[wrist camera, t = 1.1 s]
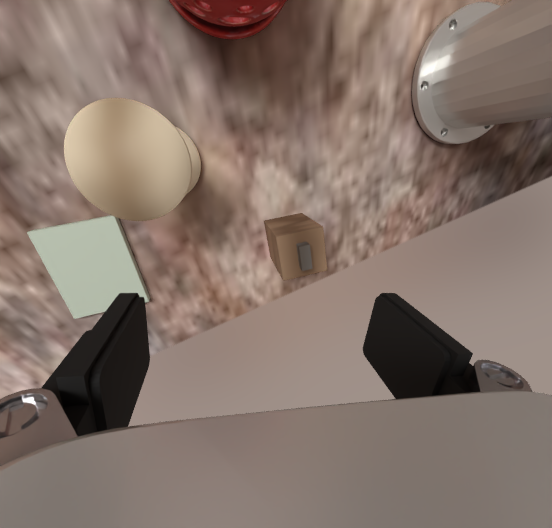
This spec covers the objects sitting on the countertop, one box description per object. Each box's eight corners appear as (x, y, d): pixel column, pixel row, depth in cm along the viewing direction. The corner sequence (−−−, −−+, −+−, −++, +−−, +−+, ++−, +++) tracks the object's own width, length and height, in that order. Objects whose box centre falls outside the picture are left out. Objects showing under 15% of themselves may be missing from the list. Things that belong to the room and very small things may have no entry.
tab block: (301, 212, 31) (327, 229, 24) (305, 248, 33) (331, 274, 25) (264, 220, 30) (278, 239, 23) (270, 256, 32) (285, 285, 25)
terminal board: (116, 214, 27) (114, 215, 26) (150, 298, 31) (148, 301, 30) (32, 230, 26) (26, 232, 25) (77, 314, 30) (74, 318, 29)
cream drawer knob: (189, 117, 25) (170, 89, 15) (208, 191, 28) (203, 209, 18) (113, 129, 24) (40, 107, 14) (140, 204, 27) (94, 230, 17)
